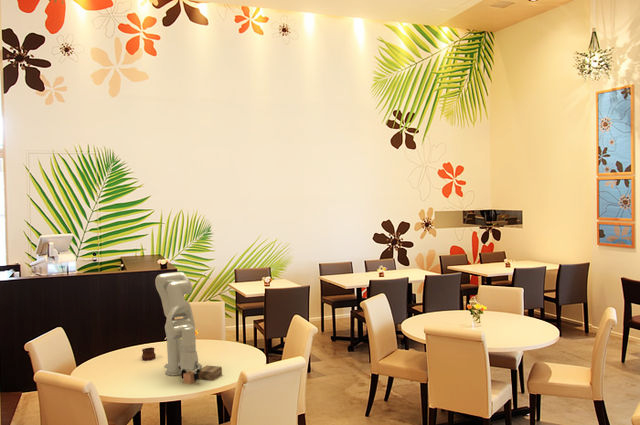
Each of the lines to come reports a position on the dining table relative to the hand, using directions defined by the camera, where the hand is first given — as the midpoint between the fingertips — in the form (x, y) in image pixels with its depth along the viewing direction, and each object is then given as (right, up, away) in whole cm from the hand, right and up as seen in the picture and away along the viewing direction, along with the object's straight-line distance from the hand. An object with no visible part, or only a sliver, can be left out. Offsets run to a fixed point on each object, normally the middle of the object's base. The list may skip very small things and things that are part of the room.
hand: (190, 379), depth 294 cm
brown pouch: (-39, -2, +47) cm, 61 cm away
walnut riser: (+10, -1, +7) cm, 12 cm away
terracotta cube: (0, -2, 0) cm, 2 cm away
